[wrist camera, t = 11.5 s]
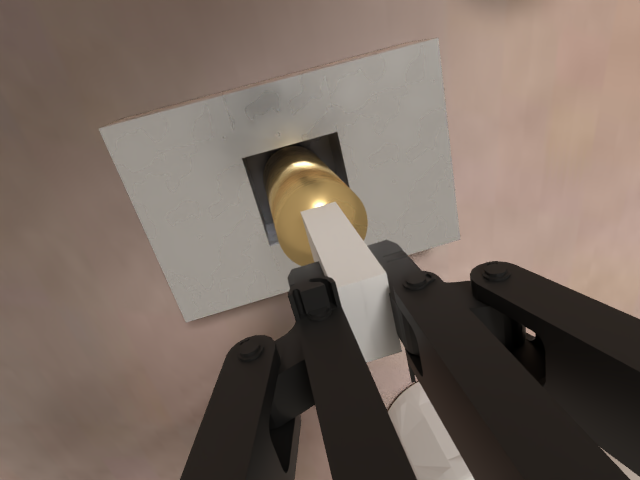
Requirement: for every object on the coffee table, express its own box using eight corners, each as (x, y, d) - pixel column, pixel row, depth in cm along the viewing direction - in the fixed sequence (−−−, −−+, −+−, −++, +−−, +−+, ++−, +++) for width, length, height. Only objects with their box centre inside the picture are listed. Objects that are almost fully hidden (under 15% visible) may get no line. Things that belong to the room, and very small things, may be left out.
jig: (119, 119, 25) (98, 128, 21) (410, 41, 26) (438, 37, 22) (192, 290, 30) (185, 322, 26) (434, 218, 31) (460, 239, 27)
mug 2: (490, 444, 41) (561, 551, 32) (384, 471, 40) (427, 590, 31) (495, 330, 36) (583, 420, 27) (373, 358, 35) (422, 462, 26)
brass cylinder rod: (254, 156, 26) (263, 199, 17) (315, 138, 27) (355, 169, 18) (274, 214, 28) (292, 281, 19) (331, 196, 28) (376, 253, 19)
